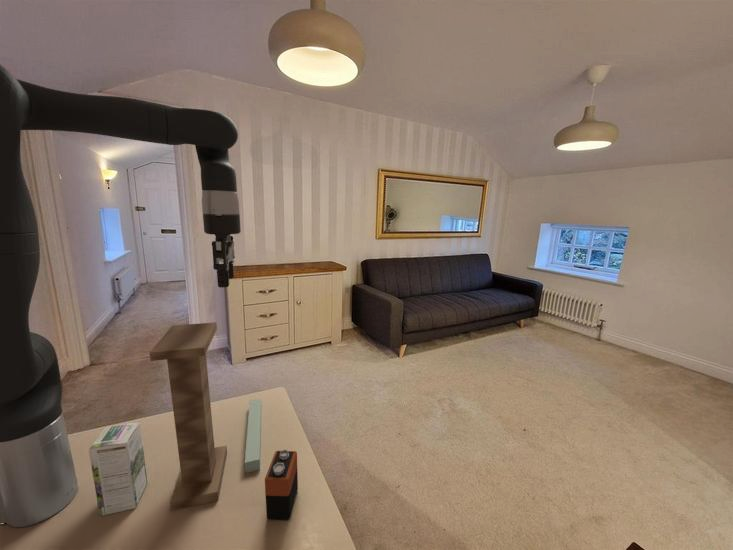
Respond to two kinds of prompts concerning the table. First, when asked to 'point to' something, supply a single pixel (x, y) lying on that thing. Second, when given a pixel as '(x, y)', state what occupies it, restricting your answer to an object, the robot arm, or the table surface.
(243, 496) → the table surface
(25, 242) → the robot arm
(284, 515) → the battery
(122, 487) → the syrup box
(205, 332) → the stand
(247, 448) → the peg
